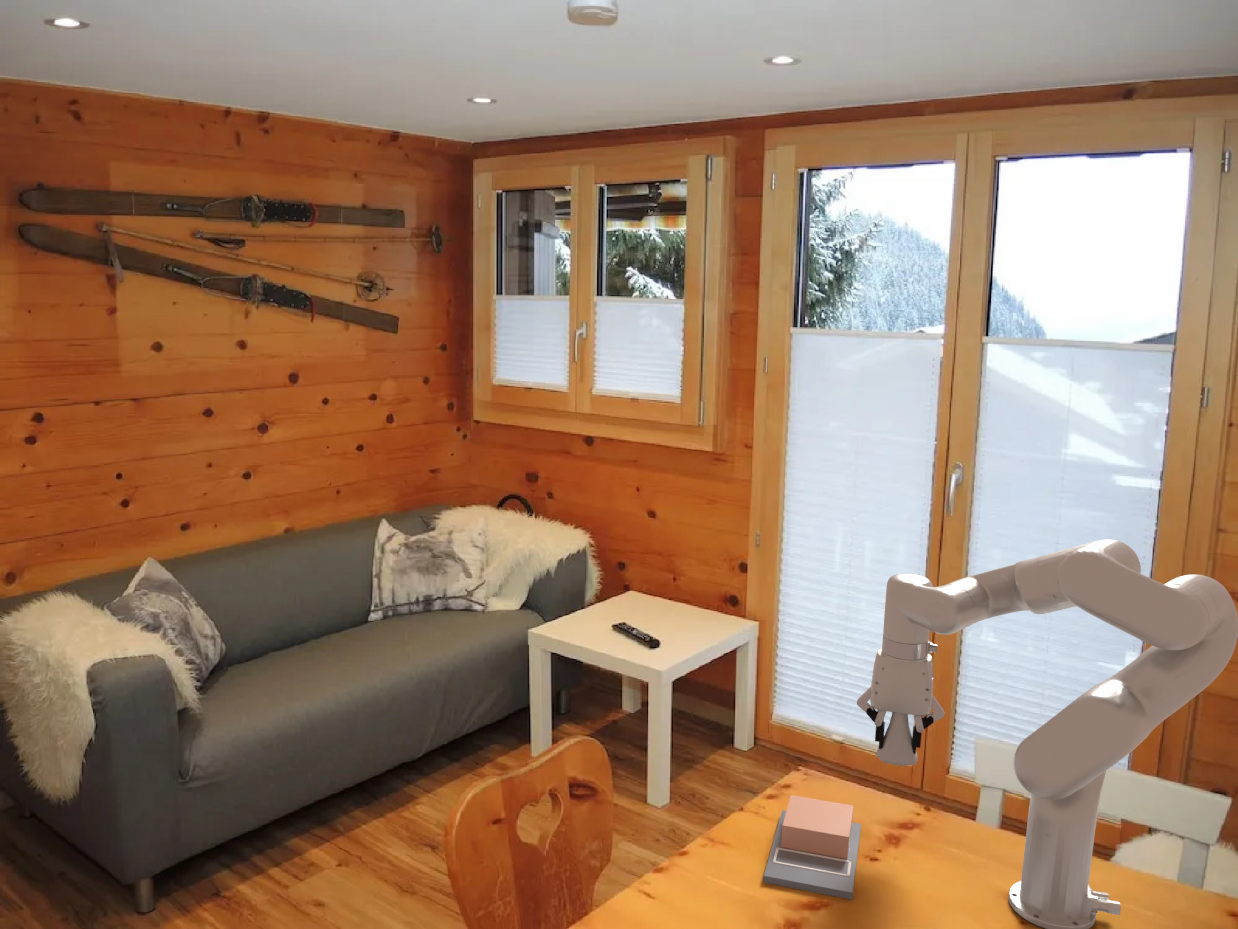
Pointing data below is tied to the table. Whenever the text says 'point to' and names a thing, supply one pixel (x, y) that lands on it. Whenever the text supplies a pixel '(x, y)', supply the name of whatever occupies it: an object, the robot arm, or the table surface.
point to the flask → (897, 742)
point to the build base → (812, 862)
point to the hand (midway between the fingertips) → (897, 747)
